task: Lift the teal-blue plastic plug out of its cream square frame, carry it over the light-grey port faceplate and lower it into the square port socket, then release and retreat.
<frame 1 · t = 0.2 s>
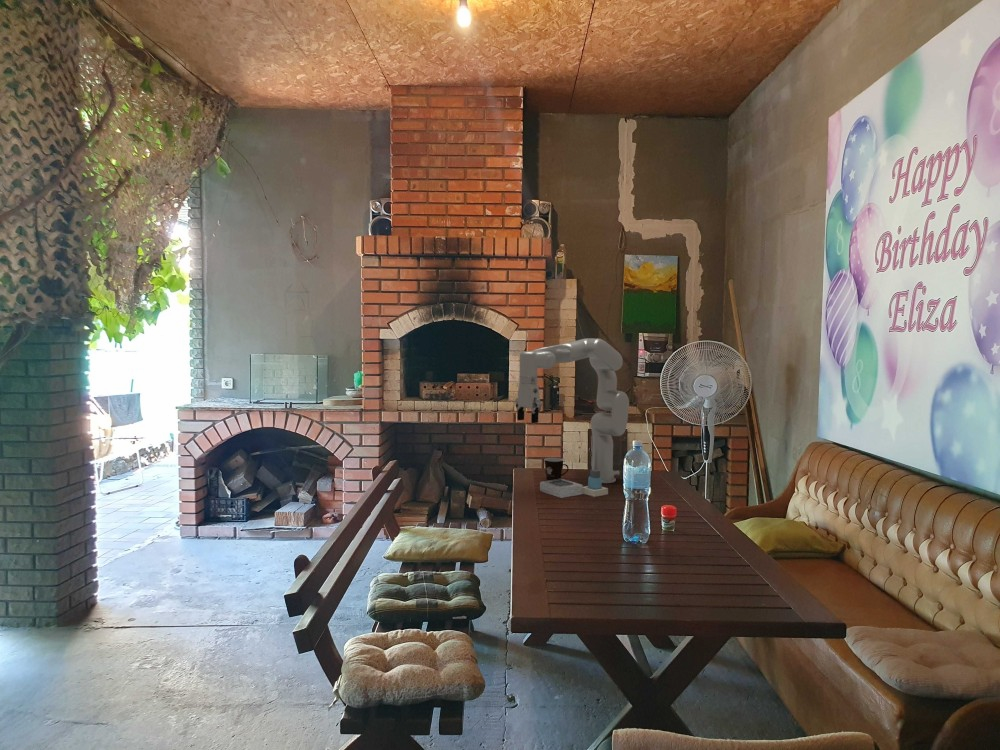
hand: (527, 421, 269), 31 cm above the table, fingers open, 9 cm apart
plug: (594, 482, 272), in the cream square frame
port panel: (561, 492, 273), on the table
coffee mug: (555, 482, 293), on the table
cream square frame: (594, 493, 272), on the table
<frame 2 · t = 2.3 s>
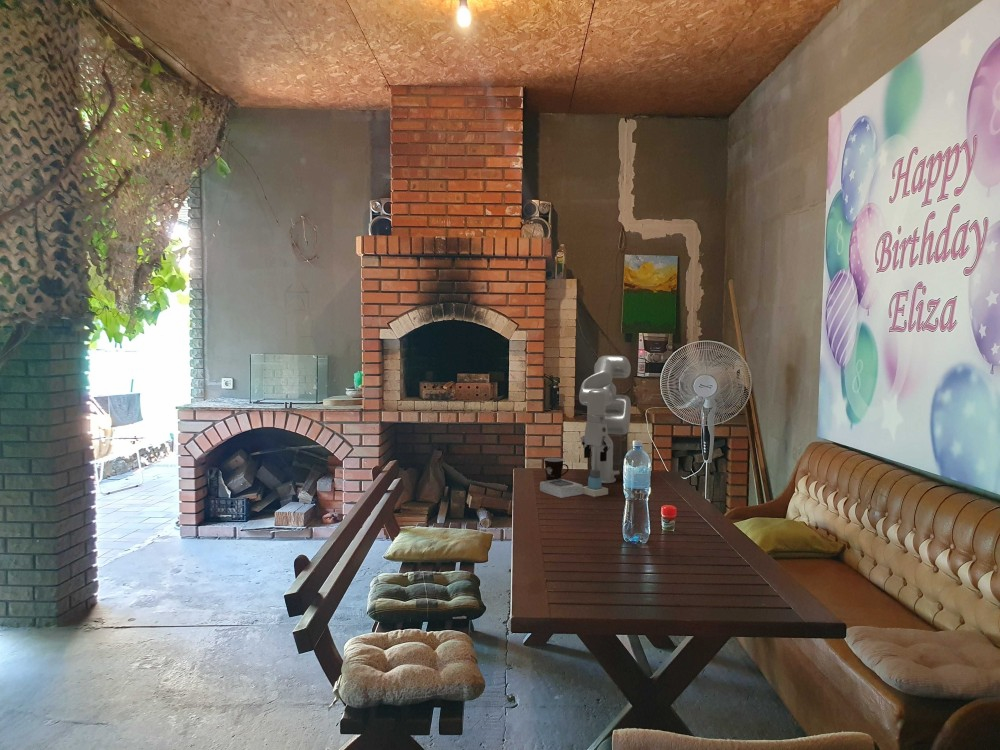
hand: (595, 459, 271), 15 cm above the table, fingers open, 9 cm apart
nothing on the table moved.
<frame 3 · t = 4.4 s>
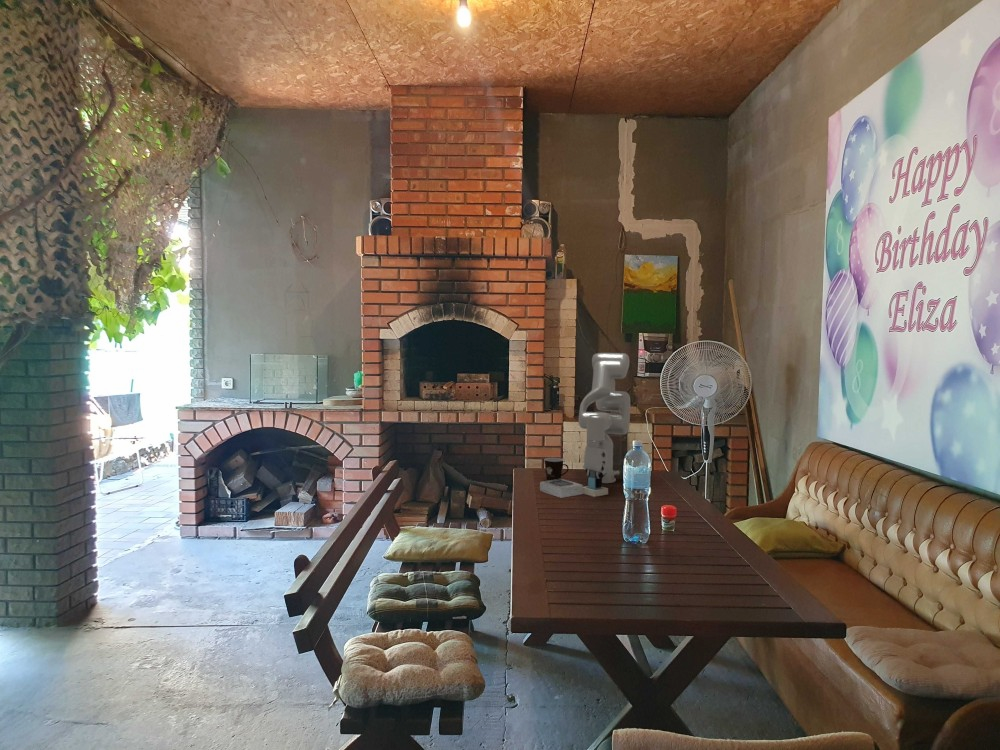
hand: (594, 485, 272), 3 cm above the table, fingers closed on plug, 4 cm apart
plug: (594, 481, 272), in the cream square frame, touching gripper
everything else where it was.
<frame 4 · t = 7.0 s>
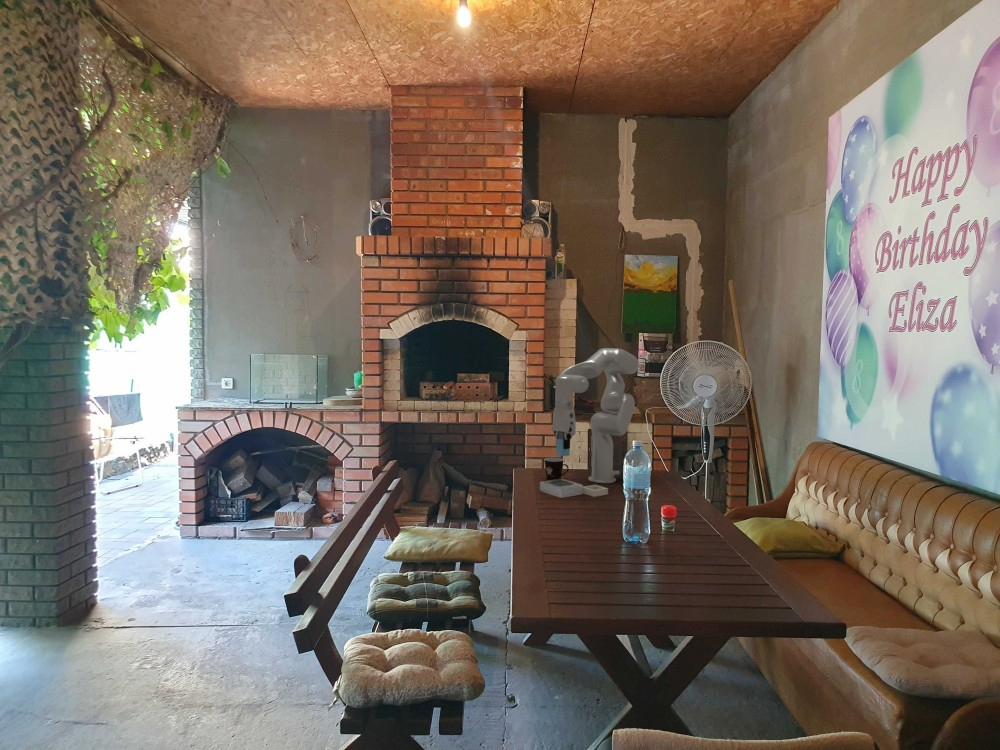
hand: (562, 447, 272), 20 cm above the table, fingers closed on plug, 4 cm apart
plug: (563, 443, 272), point 21 cm above the table, touching gripper
everything else where it was.
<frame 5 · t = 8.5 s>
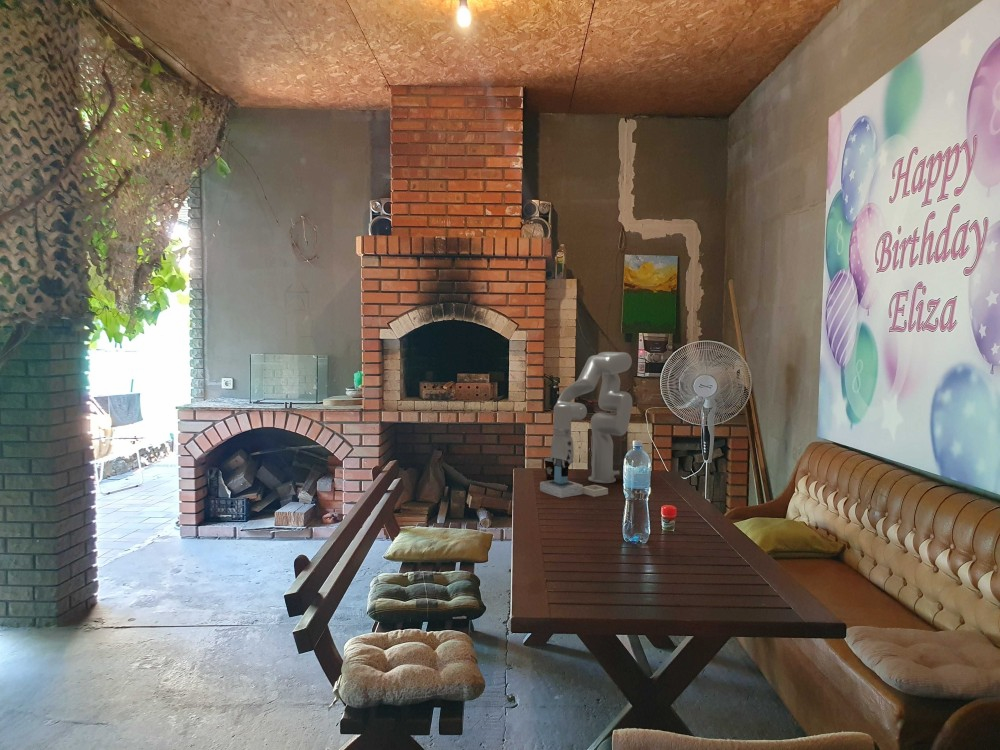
hand: (561, 474, 272), 8 cm above the table, fingers closed on plug, 4 cm apart
plug: (561, 470, 272), point 9 cm above the table, touching gripper
everything else where it was.
when the fingers open (5 cm above the table, at t = 9.7 s): plug drops 1 cm, resting in port panel.
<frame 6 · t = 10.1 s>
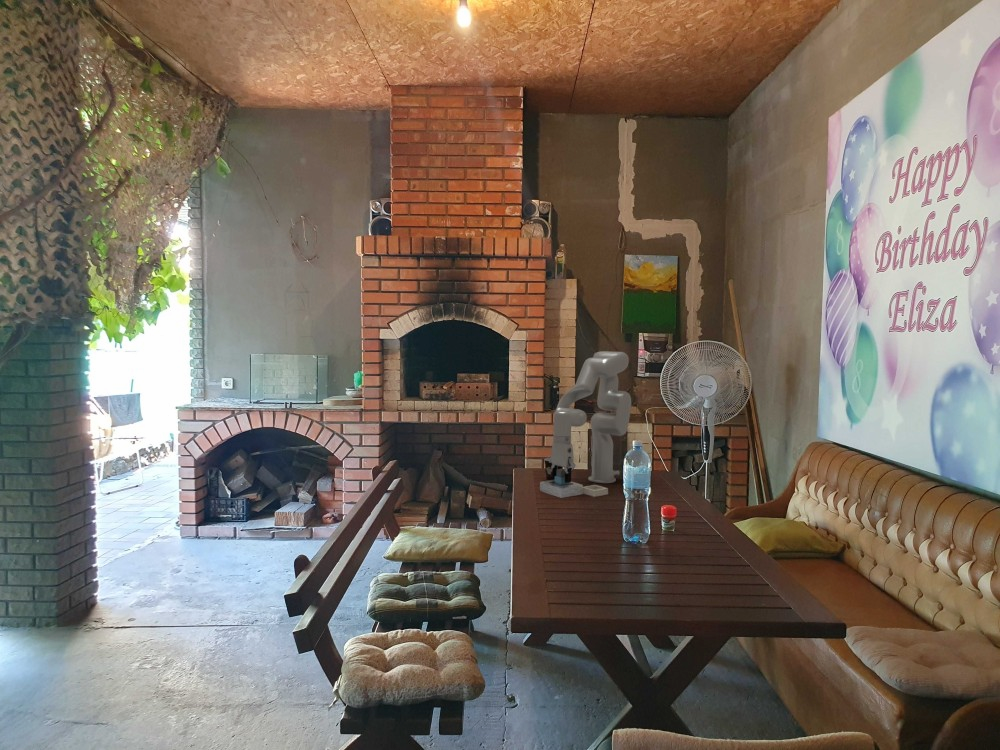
hand: (561, 480, 273), 5 cm above the table, fingers open, 7 cm apart
plug: (561, 481, 273), in the port panel
everything else where it was.
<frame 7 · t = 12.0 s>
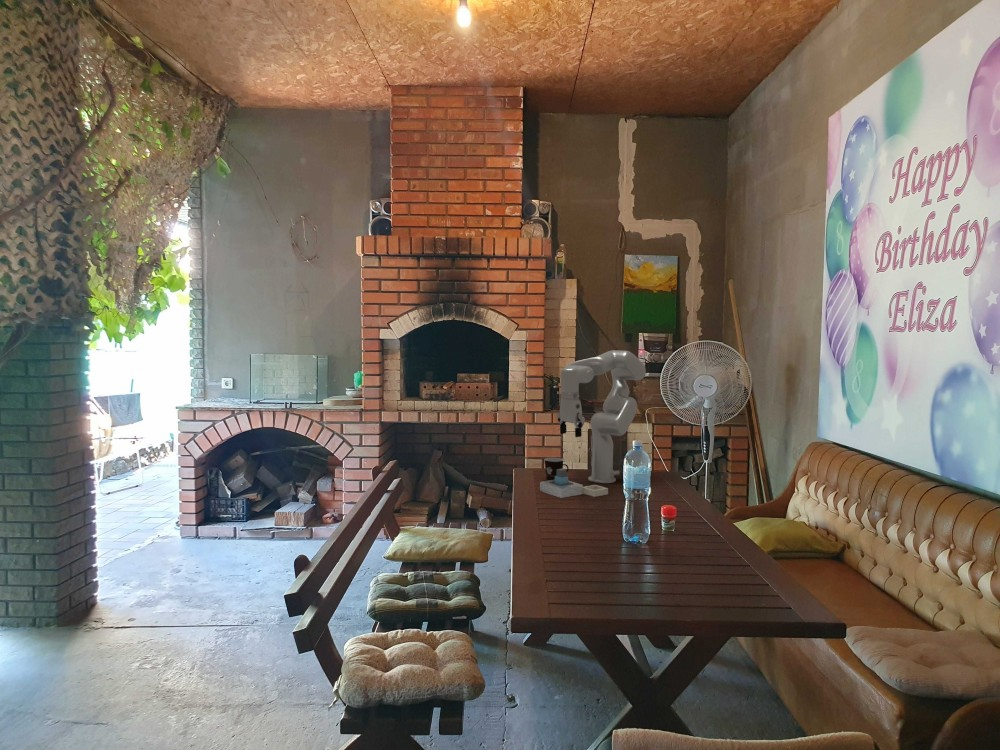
hand: (570, 435, 277), 24 cm above the table, fingers open, 9 cm apart
nothing on the table moved.
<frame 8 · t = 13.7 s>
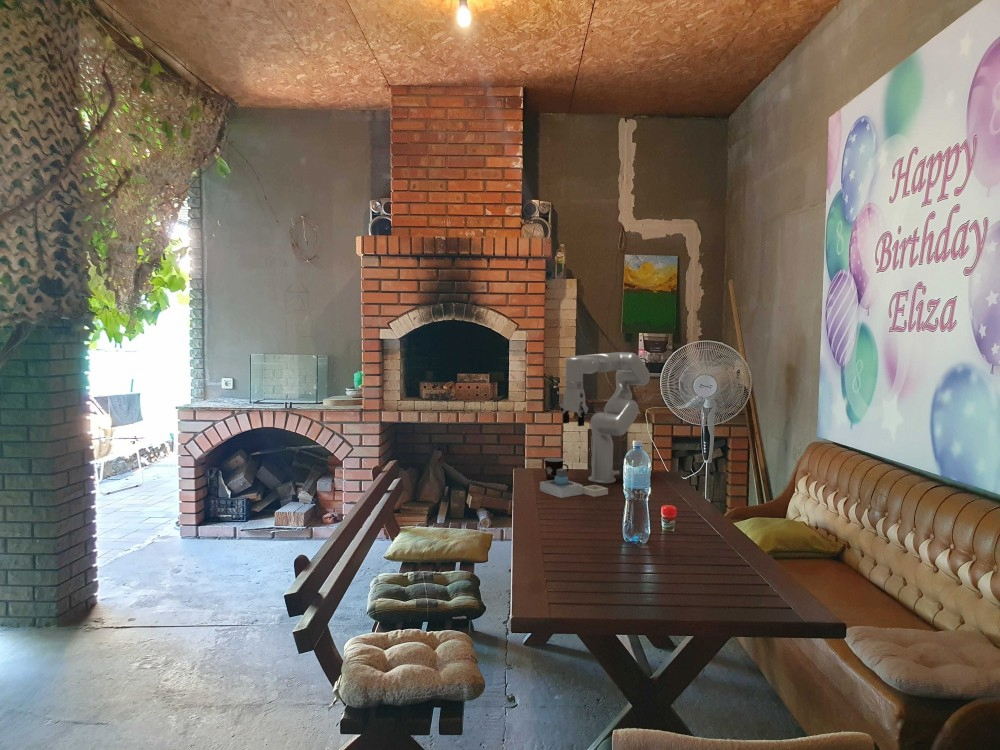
hand: (573, 424, 279), 28 cm above the table, fingers open, 9 cm apart
nothing on the table moved.
at the end: plug 0.0 cm off-centre on the port panel, point 5.0 cm above the port panel's base; plug tilted 0°; the gripper is holding nothing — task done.
